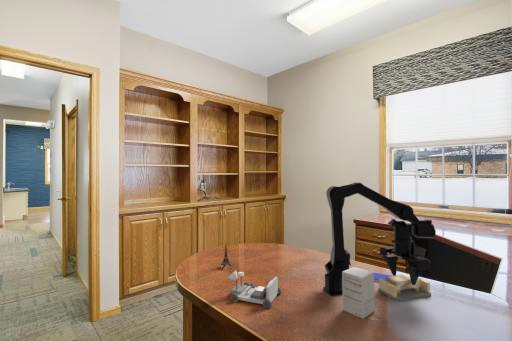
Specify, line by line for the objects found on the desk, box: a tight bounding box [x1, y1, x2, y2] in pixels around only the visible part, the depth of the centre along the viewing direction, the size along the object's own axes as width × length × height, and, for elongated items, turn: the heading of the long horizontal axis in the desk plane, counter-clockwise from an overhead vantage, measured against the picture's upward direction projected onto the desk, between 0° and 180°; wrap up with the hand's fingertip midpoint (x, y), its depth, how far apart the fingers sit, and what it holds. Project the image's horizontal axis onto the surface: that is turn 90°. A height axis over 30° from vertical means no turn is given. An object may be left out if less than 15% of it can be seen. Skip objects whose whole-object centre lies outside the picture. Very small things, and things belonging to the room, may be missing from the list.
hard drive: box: [372, 271, 392, 283], centre depth 111 cm, size 2×8×12 cm
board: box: [386, 273, 422, 290], centre depth 99 cm, size 11×5×3 cm, turn 104°
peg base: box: [377, 278, 432, 302], centre depth 99 cm, size 15×9×4 cm, turn 104°
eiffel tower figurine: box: [220, 242, 232, 268], centre depth 129 cm, size 15×10×13 cm
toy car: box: [227, 270, 282, 309], centre depth 97 cm, size 18×10×12 cm
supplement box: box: [342, 266, 376, 319], centre depth 86 cm, size 7×7×13 cm
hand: (403, 279), depth 99 cm, fingers open, 9 cm apart
